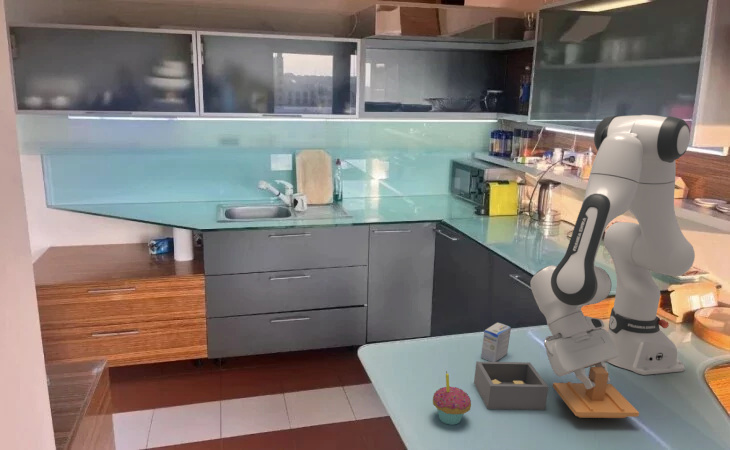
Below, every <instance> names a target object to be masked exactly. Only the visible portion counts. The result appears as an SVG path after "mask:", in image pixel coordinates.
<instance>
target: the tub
mask: <svg viewBox="0 0 730 450" xmlns="http://www.w3.org/2000/svg"><path fill="white" fill-rule="evenodd" d="M473 379H474V380H473V384H474V386H475V388H476V390H477V392H478V393H479V396H480V398H481V399H482V402H483V403H484V405H485V406H486V409H487V410H524V411H525V410H529V411H530V410H531V411H532V410H534V411H535V410H536V411H539V410H540V411H541V410H543V411H545V410H546V406H547V401H548V395H549V394H548V393H549V385H548V384H547V383H546V382H545V380H544V378H543V377H542V376H541V374H539V372H538V371H537V369H536V368H535V367H534V365H533V364H532V363H531V362H528V361H527V362H525V361H524V362H522V361H521V362H518V361H514V362H513V361H512V362H511V361H497V362H490V361H476V363H475V369H474V378H473Z"/></svg>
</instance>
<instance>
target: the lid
mask: <svg viewBox="0 0 730 450" xmlns="http://www.w3.org/2000/svg"><path fill="white" fill-rule="evenodd" d="M609 374H610V373H609V372H608V370H607V371H606V370H605V369H604V368H603V367H595V366H591V367H589V372H588V376H587V377H588V378H589V379H590V380H591V379H593V381H594V383H595V387H593V388H591V389H586V387H585V385H584V383H583V382H581V383H580V382H571V381H567V382H553V383H552V388H553V389H554V391H556V393H557V394H558V395H559V397H560V398H561V399H562V400H563V402H564V404H566V406H567V407H568V408H569V410H570V411H571V412H572V413H573V414H574V415H575V417H578V418H586V419H588V418H589V419H590V418H591V419H592V418H593V419H594V418H595V419H597V418H598V419H601V418H603V419H626V417H634V418H636V417H639V415H640V412H639V411H638V410H637V409H636V407H634V406H633V405H632V404H631V403H630V401H628V400H627V398H625V396H624V395H622V393H621V392H619V391H618V390H617V389H616V387H615V386H613V384H612V383H607V380H608V377H609Z"/></svg>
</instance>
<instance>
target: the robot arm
mask: <svg viewBox="0 0 730 450" xmlns="http://www.w3.org/2000/svg"><path fill="white" fill-rule="evenodd" d="M690 131H691V130H690V127H689V125H688V123H687V122H686V121H685V119H683V118H679V117H675V116H668V117H667V116H662V115H661V116H660V115H654V114H640V115H638V114H637V115H621V116H620V115H609V116H607V117H604V118H602V120H601V121H600V122H599V123H598V124H597V125H596V128H595V131H594V133H593V134H594V136H593V141H594V147H595V148H596V150H597V152H596V155H595V158H594V160H593V163H592V165H591V169H590V172H589V173H590V174H589V177H588V181H587V185H586V189H585V193H584V198H583V200H582V204H581V208H580V210H579V213H578V215H577V218H576V221H575V225H574V228H573V230H572V233H571V235H570V236H571V237H570V240H569V242H568V246H567V248H566V251H565V254H564V256H563V257H562V258H561V261H560V262H559V263H558V264H557V266H556V265H547V266H545V267H542V268H541V269H540V270H538V271H537V272H536V273H535V274H533V276H532V278H531V279H530V289H531V292H532V295H533V297H534V300H535V302H536V305H537V307H538V308H539V311H540V312H541V313H542V314H543V315H544V317H545V320H546V324H547V327H548V329H549V331H550V332H551V335H548V336H545V339H544V343H543V346H544V347H545V351H546V355H547V358H548V359H547V360H548V362H549V364H550V367H551V369H552V372H553V373H554V374H555V375H556V376H557V377H563V376H566V375H569V374H572V373H573V374H574V376H575V377H576V378H577V379H578V380H579V381H581V383H584V385H585V387H586V389H591V388H593V387H595V383H594V381H593V379H591V380H590V379H589V378H588V377H589V376H588V375H587V374H586V369H587V368H590V367H603V368H604V369H605V370H606V371H607V372H608V366H607V363H609V364H612V365H614V366H616V367H619V368H621V369H625V370H629V371H631V372H634V373H636V374H639V375H642V376H646V375H647V376H648V375H657V374H666V373H668V374H669V373H677V372H678V373H679V372H684V371H685V365H684V363H683V361H681V360H680V359H679V358H678V349H677V348H678V347H677V346H676V344H675V343H674V342H673V341H672V339H670V338H669V337H668V336H667V335H666V334H665V332H664V331H662V330H661V328H660V327H662V328H663V329H668V327H669V325H670V323H669V321H666V320H665V319H661V318H660V317H659V316H657V312H658V308H659V303H660V298H661V290H660V288H659V286H658V285H657V282H655V280H654V279H653V276H652V274H651V272H654V273H657V274H659V275H665V276H671V277H680V276H682V275H684V274H685V273H687V272H688V271H689V270H690V269H691V267H693V264H694V262H695V256H696V255H695V250H694V246H693V245H692V244H691V242H690V241H688V239H687V238H686V237H685V236H684V234H683V232H682V229H681V228H680V226H679V223H678V219H677V216H676V212H675V211H676V210H675V188H676V176H677V175H676V172H677V171H676V170H677V169H676V164H677V163H676V160H678V159H680V158H681V157H682V156H683V155H684V154H686V151H687V150H688V147H689V143H690V139H691V132H690ZM627 211H630V213H631V214H632V215H633V217H635V219H636V221H637V223H636V222H628V221H617V222H615V223H613V224H611V225H610V226H609V227H608V225H609V224H610V223H611V222H612V221H613V220H614V219H616V218H617V217H619V216H622V215H624V214H625V213H627ZM607 227H608V228H607ZM606 228H607V230H606ZM605 230H606V232H605ZM604 232H605V234H604ZM602 239H603V245H604V248H605V249H606V251H607V252H608V254H609V255H610V257H611V259H612V262H613V266H614V271H615V276H616V288H615V289H616V290H615V295H614V303H613V307H612V308H611V310H610V315H609V321H608V330H606V329H605V323H604V321H603V320H602V319H600V318H595V317H591V316H588V315H585V314H584V313H583V311H582V308H583V307H585V306H589V305H595V304H598V303H601V302H603V301H604V300H605V299H607V297H608V296H609V295H610V294H611V291H612V279H611V277H610V275H609V273H608V272H607V271H606V270H605V269H603V268H602V267H600V266H597V265H595V262H596V257H597V254H598V251H599V248H600V245H601V243H602ZM610 381H611V379H610V377H609V376H608V380H607V384H609V383H610Z"/></svg>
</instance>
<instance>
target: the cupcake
mask: <svg viewBox="0 0 730 450" xmlns="http://www.w3.org/2000/svg"><path fill="white" fill-rule="evenodd" d="M445 382H446V383H445V384H446V385H445V386H444V387H440V388H439V389H437V390H436V391H435V392H434V393H433V396H432V405H433V406H434V407H435V408H436V410H437V413H438V414H437V415H438V418H439V420H440V421H441V422H442V423H444V424H447V425H449V426H451V425H452V426H453V425H457V424H459V423H460V422H461V420H462V418H463V416H464V414H466V413H467V412H469V411H471V407H472V401H471V397H470V396H469V394H468V393H467V392H466V391H464V390H463V389H462V388H459V387H454V386H450V375H449V373H448V371H447V370H446V371H445Z"/></svg>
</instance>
